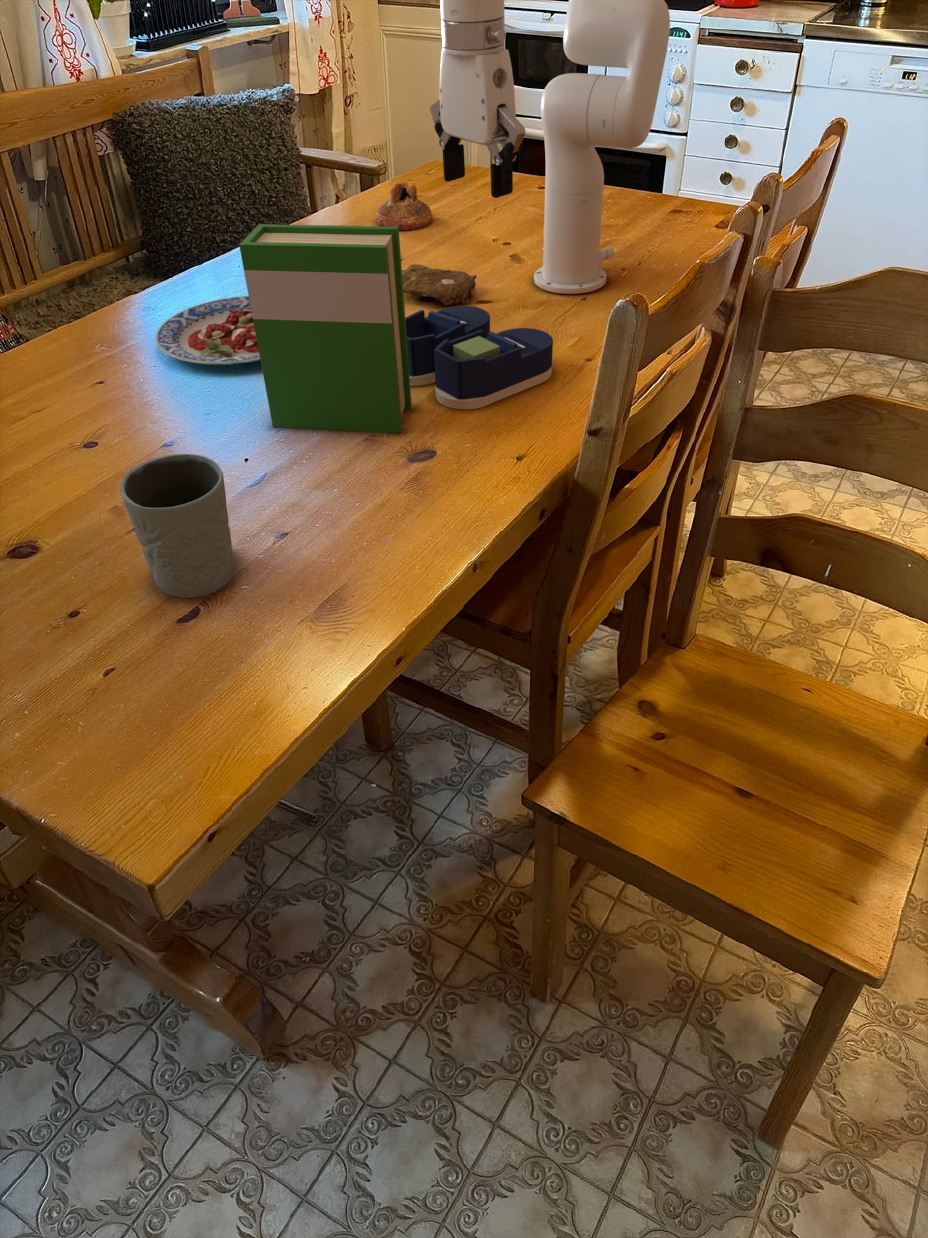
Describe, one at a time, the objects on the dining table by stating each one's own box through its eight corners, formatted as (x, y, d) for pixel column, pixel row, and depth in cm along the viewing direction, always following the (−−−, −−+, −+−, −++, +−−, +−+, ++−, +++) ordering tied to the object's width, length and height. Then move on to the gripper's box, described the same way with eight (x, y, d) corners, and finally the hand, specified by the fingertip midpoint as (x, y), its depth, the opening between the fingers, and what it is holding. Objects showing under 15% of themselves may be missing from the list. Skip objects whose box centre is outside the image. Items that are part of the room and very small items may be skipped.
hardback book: (411, 406, 126) (398, 226, 111) (401, 433, 121) (385, 247, 105) (288, 401, 129) (259, 223, 113) (272, 427, 123) (239, 244, 107)
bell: (438, 213, 191) (437, 176, 186) (423, 232, 182) (421, 193, 177) (385, 211, 193) (382, 174, 188) (368, 229, 184) (364, 191, 179)
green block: (479, 370, 131) (478, 335, 127) (500, 381, 128) (500, 345, 125) (454, 380, 129) (453, 345, 125) (474, 391, 126) (474, 355, 123)
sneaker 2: (524, 354, 138) (525, 310, 133) (564, 373, 133) (566, 327, 128) (423, 393, 129) (420, 347, 125) (461, 415, 124) (460, 368, 119)
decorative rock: (378, 303, 156) (460, 316, 152) (376, 279, 153) (459, 292, 149) (405, 276, 163) (483, 288, 159) (403, 253, 160) (483, 265, 156)
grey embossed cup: (180, 540, 104) (153, 447, 96) (261, 554, 101) (240, 459, 93) (131, 595, 96) (98, 499, 88) (216, 611, 94) (190, 513, 86)
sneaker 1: (459, 332, 145) (457, 289, 140) (501, 346, 140) (501, 301, 136) (374, 375, 134) (370, 329, 130) (418, 391, 130) (414, 345, 125)
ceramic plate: (242, 296, 159) (239, 279, 157) (355, 328, 147) (353, 310, 145) (123, 351, 143) (118, 333, 141) (239, 391, 131) (235, 372, 129)
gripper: (545, 38, 106) (543, 194, 117) (452, 22, 116) (458, 167, 127) (496, 49, 102) (499, 209, 114) (405, 31, 113) (415, 179, 124)
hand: (477, 186), depth 121 cm, fingers open, 9 cm apart
